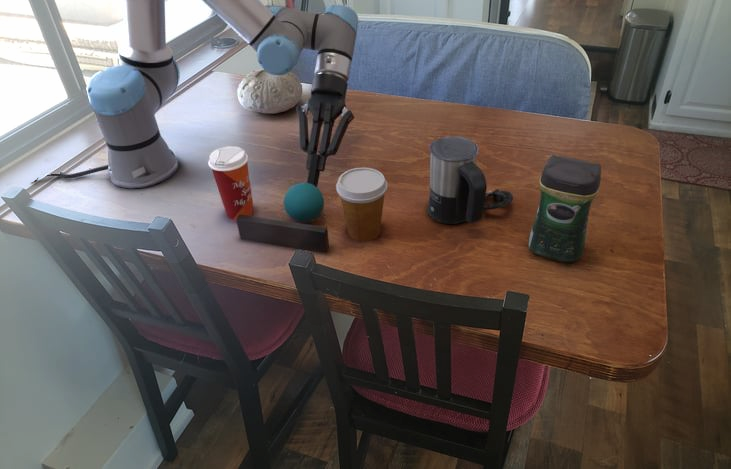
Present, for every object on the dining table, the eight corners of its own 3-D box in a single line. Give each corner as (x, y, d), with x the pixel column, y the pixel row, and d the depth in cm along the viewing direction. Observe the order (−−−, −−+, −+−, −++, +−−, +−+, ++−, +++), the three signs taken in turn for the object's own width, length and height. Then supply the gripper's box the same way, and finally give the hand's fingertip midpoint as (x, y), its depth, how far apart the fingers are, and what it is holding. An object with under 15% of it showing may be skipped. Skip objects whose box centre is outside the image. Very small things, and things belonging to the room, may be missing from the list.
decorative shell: (276, 127, 143) (271, 91, 136) (226, 113, 150) (219, 79, 144) (316, 100, 154) (312, 66, 148) (268, 89, 162) (262, 56, 156)
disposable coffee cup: (360, 211, 112) (358, 161, 105) (397, 227, 107) (397, 176, 100) (330, 234, 106) (324, 183, 99) (367, 253, 102) (364, 200, 94)
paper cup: (251, 225, 110) (238, 166, 101) (215, 222, 111) (200, 163, 102) (264, 203, 116) (253, 145, 107) (230, 200, 117) (216, 143, 108)
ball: (288, 188, 113) (284, 225, 111) (284, 175, 105) (279, 214, 103) (326, 191, 113) (322, 228, 111) (325, 179, 105) (320, 218, 103)
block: (240, 239, 106) (235, 219, 103) (244, 234, 108) (239, 214, 104) (326, 253, 102) (324, 232, 99) (329, 247, 103) (327, 227, 100)
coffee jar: (585, 243, 101) (609, 157, 90) (577, 269, 96) (601, 181, 84) (533, 230, 105) (550, 145, 93) (523, 254, 99) (539, 167, 88)
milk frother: (417, 211, 111) (419, 148, 102) (464, 180, 119) (470, 119, 110) (474, 241, 103) (481, 175, 94) (520, 205, 111) (531, 142, 102)
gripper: (296, 69, 115) (277, 178, 113) (355, 74, 112) (336, 185, 110) (308, 83, 122) (289, 185, 120) (363, 87, 119) (345, 192, 117)
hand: (312, 185), depth 115 cm, fingers closed
